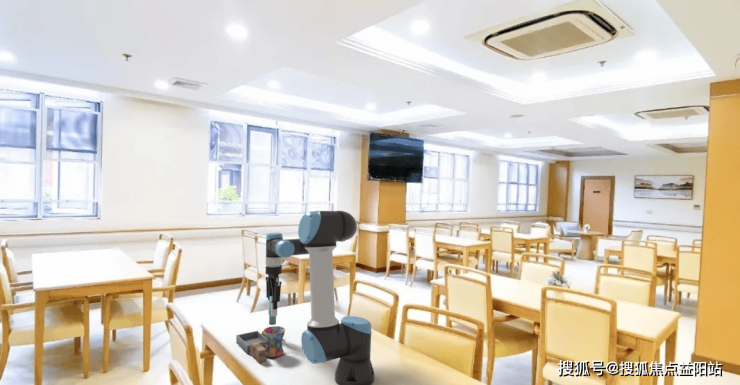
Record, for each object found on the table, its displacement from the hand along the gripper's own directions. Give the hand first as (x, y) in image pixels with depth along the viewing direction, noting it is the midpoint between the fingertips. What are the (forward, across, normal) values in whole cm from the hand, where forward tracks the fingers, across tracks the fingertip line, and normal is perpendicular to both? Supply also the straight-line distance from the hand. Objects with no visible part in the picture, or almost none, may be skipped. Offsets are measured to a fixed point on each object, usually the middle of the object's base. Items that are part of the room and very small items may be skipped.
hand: (272, 314), depth 182 cm
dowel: (+4, 0, 0) cm, 4 cm away
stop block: (+12, -15, +13) cm, 23 cm away
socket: (+11, +1, 0) cm, 11 cm away
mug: (+12, -15, +5) cm, 20 cm away
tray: (+12, -2, +10) cm, 16 cm away
